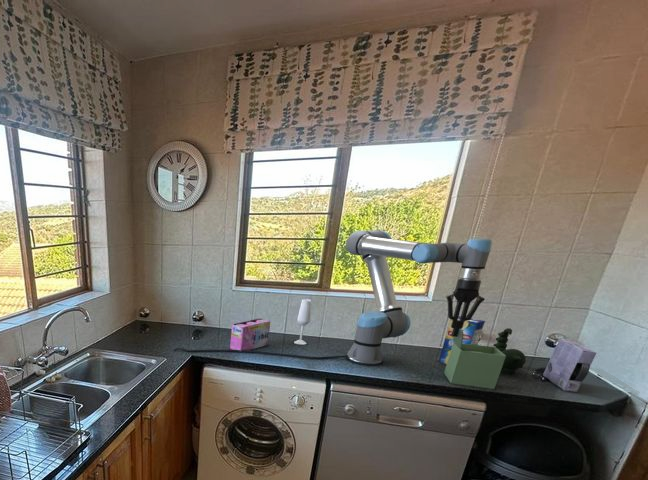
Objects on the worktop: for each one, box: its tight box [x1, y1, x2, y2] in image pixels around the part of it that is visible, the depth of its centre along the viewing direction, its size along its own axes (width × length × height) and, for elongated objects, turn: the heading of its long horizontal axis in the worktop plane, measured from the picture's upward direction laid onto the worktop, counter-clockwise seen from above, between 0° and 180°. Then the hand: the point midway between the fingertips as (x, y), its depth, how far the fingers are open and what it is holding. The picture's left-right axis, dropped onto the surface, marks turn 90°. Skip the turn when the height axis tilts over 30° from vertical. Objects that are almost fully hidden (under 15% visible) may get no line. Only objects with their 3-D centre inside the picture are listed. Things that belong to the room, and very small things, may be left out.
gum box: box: [229, 318, 271, 351], centre depth 215 cm, size 24×8×14 cm, turn 127°
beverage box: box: [438, 315, 486, 365], centre depth 190 cm, size 7×11×22 cm, turn 28°
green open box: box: [443, 343, 506, 390], centre depth 171 cm, size 15×13×14 cm
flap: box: [453, 329, 463, 349], centre depth 170 cm, size 7×13×1 cm
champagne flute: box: [293, 298, 312, 345], centre depth 220 cm, size 7×7×24 cm
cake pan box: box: [542, 338, 597, 393], centre depth 167 cm, size 19×5×18 cm, turn 158°
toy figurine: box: [492, 327, 527, 375], centre depth 184 cm, size 9×19×25 cm
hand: (454, 335), depth 170 cm, fingers closed
